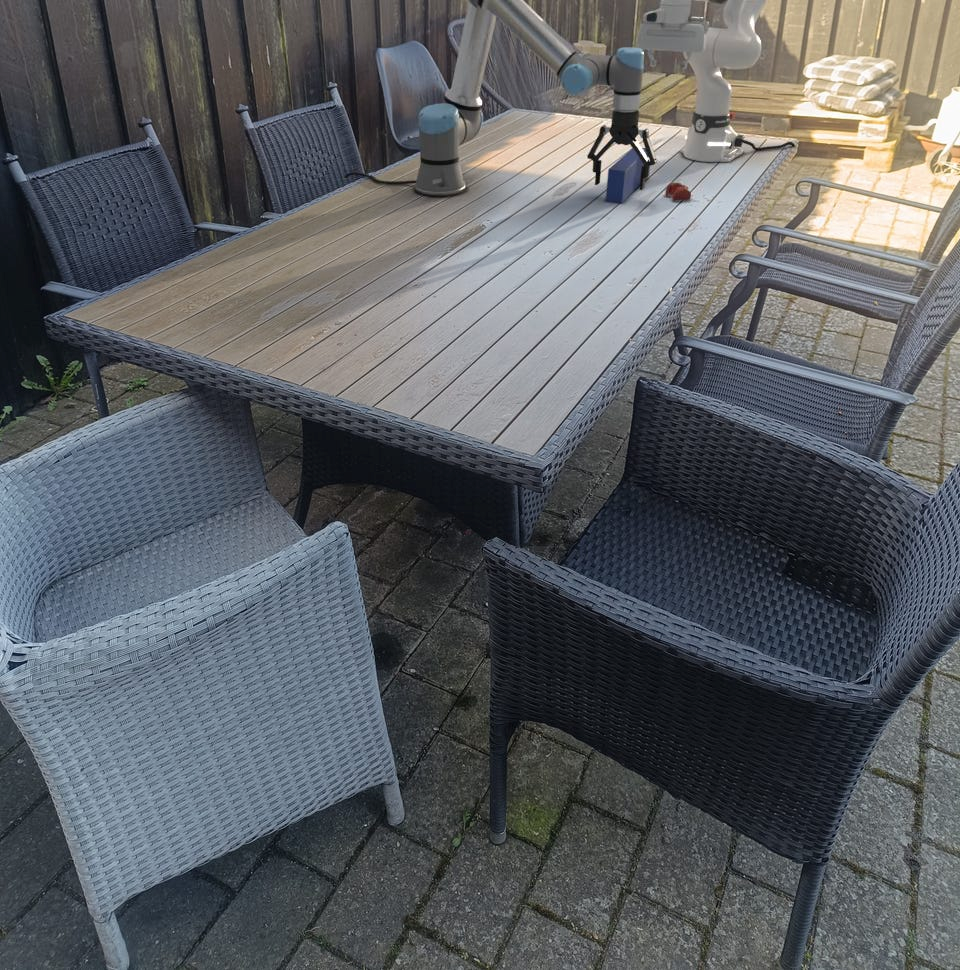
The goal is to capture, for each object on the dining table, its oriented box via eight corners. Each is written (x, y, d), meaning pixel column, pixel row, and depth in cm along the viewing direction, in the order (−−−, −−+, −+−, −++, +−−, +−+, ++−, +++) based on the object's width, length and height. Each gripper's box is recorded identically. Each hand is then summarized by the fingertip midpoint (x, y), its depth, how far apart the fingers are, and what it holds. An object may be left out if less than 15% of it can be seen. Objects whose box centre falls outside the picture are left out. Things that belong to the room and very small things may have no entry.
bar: (621, 203, 248) (625, 171, 242) (605, 201, 249) (608, 169, 244) (646, 178, 268) (649, 148, 263) (630, 176, 270) (633, 146, 265)
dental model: (681, 178, 253) (693, 186, 247) (680, 192, 255) (692, 200, 249) (664, 180, 252) (676, 188, 246) (663, 194, 254) (674, 202, 248)
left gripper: (672, 110, 236) (664, 187, 248) (587, 103, 244) (583, 178, 257) (666, 115, 230) (657, 194, 243) (579, 108, 239) (575, 185, 251)
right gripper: (712, 15, 245) (704, 68, 253) (643, 12, 252) (638, 63, 260) (707, 18, 241) (700, 71, 249) (637, 15, 247) (633, 66, 255)
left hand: (619, 186), depth 250 cm, fingers open, 13 cm apart
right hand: (668, 67), depth 254 cm, fingers open, 8 cm apart
